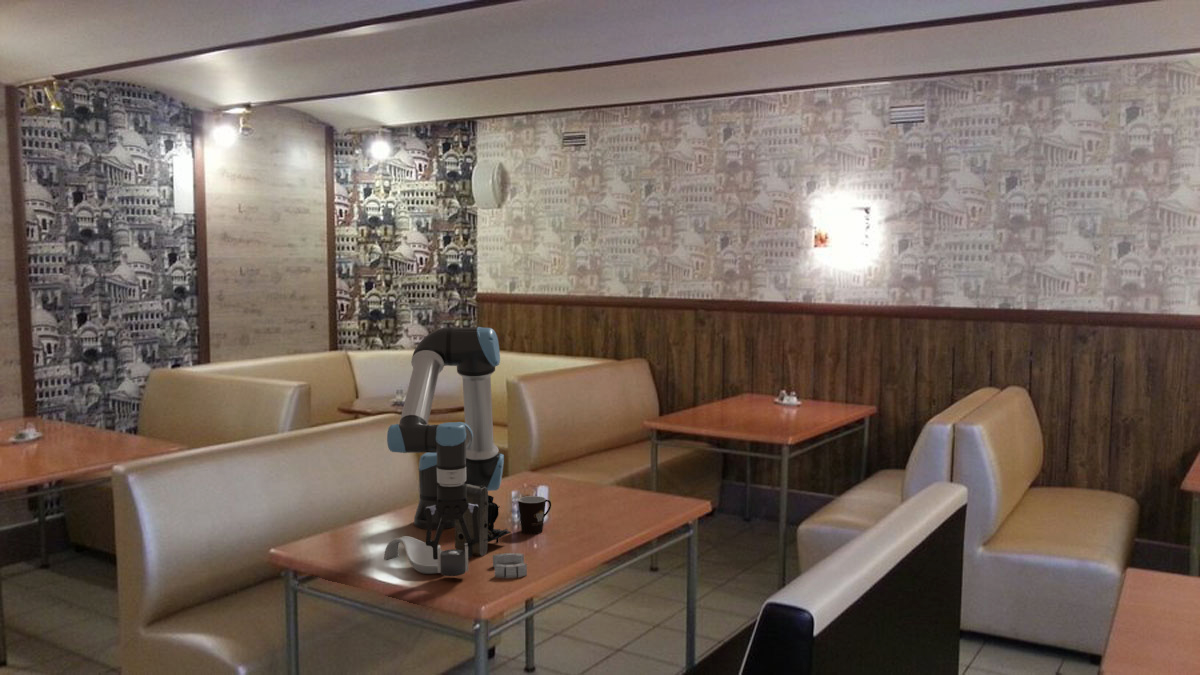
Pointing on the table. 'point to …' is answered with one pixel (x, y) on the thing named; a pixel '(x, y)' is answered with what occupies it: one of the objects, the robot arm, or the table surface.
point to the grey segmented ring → (509, 565)
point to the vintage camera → (479, 521)
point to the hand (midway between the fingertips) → (453, 570)
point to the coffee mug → (532, 513)
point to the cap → (453, 562)
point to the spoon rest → (414, 554)
